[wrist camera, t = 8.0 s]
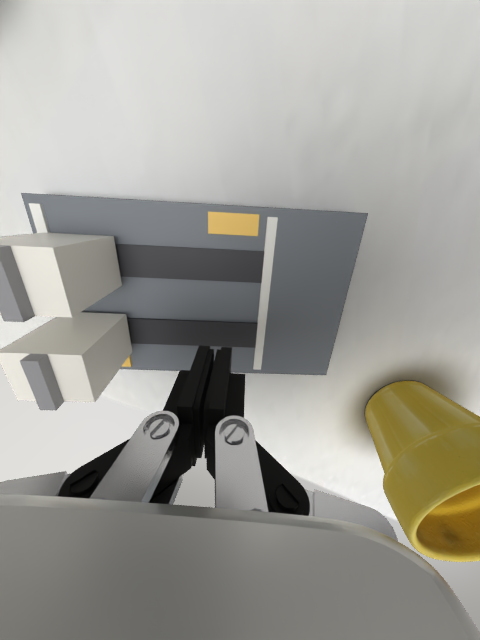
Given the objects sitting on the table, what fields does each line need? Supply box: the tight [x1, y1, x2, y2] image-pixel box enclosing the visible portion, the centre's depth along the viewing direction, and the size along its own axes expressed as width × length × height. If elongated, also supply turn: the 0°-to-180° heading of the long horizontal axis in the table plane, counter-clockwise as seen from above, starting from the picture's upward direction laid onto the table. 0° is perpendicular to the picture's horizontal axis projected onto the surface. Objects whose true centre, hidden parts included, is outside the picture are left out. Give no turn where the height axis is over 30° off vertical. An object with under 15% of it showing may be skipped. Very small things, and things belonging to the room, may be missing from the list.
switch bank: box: [21, 193, 368, 375], centre depth 17 cm, size 20×12×2 cm, turn 87°
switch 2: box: [0, 312, 132, 410], centre depth 14 cm, size 4×3×6 cm
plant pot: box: [365, 381, 480, 562], centre depth 19 cm, size 10×10×10 cm
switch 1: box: [0, 232, 122, 322], centre depth 12 cm, size 4×3×6 cm
